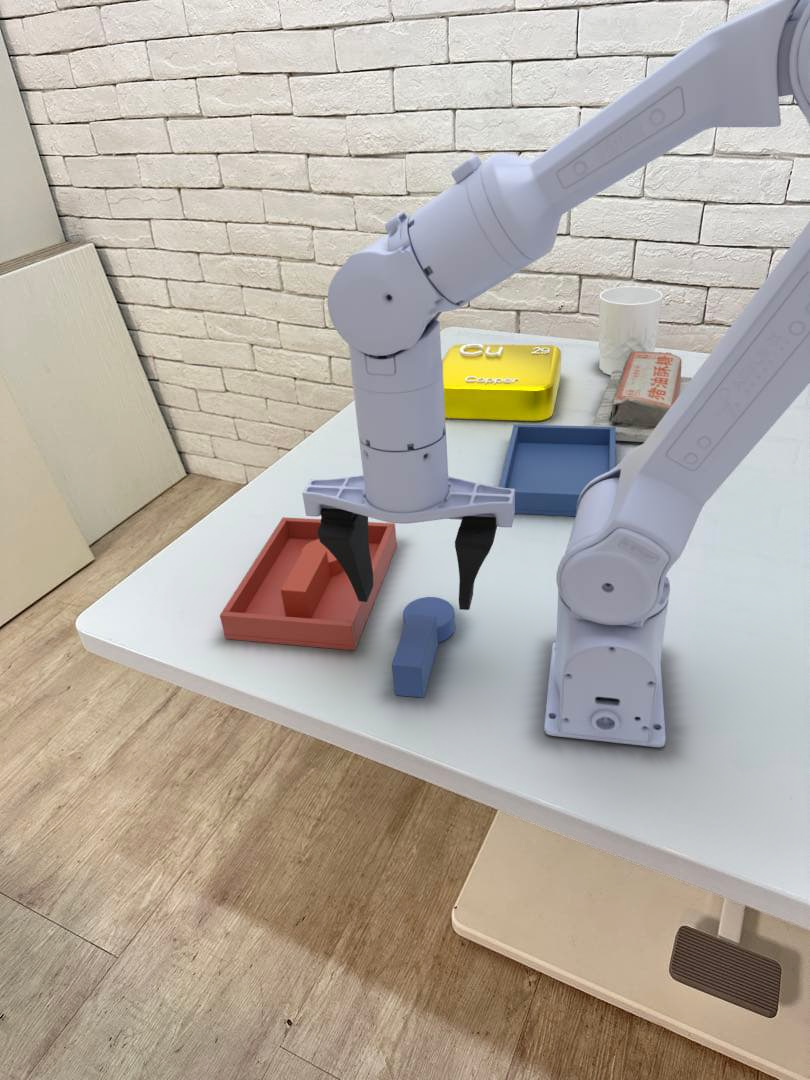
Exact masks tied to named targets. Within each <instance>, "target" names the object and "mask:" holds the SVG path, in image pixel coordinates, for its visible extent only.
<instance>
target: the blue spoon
mask: <svg viewBox="0 0 810 1080" xmlns="http://www.w3.org/2000/svg"><path fill="white" fill-rule="evenodd" d="M402 621H403V630H402V633H401V636H400V639H399V642H398V644H397V645H398V646H397V648H396V651H395V654H394V656H393V660H392V663H391V672H392V680H393V681H392V682H393V689H394V695H395V696H401V697H412V698H422V699H424V698H425V694H426V691H427V687H428V683H429V680H430V676H431V672H432V670H433V669H432V668H433V665H434V662H435V658H436V655H437V651H438V647H439V643H442V642H444V641H446V640H448V639H450V637H452V635H453V634H454V632H455V630H456V615H455V608H454V606H453V605H452V603H450V602H449V601H448V600H446V599H443V598H440V597H437V596H436V597H435V596H426V597H425V596H424V597H420V598H416V599H414V600H412V601H411V602H409V603H408V604H406V606H405V607H404V608H403V611H402Z"/></svg>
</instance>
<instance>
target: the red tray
mask: <svg viewBox="0 0 810 1080" xmlns="http://www.w3.org/2000/svg"><path fill="white" fill-rule="evenodd" d="M320 524H321V518H302V517H284V516H283V517H282V518H281V519H280V521H279V522H278V524H277V526H276V527H275V529H273V532H272V533H271V535H270V537H269V538H267V541H266V542H265V544H264V546H263V547H262V549H261V550H260V552H259V553H258V555H257V556H256V558H255V559H254V561H253V562H252V564H251V566H250V567H249V569H248V571H247V572H246V574H245V575H244V576H243V579H242V580H241V582H240V583H239V584H238V586H237V587H236V589H235V590H234V592H233V593H232V596H231V597H230V598H229V600H228V602H227V603H226V605H225V606H224V608H223V609H222V611H221V612H220V614H219V618H220V622H221V627H222V630H223V634H224V638H225V640H227V639H228V640H235V641H245V642H246V641H247V642H256V643H267V644H268V643H269V644H277V645H278V644H279V645H290V646H300V647H302V646H303V647H311V648H322V649H334V650H342V651H343V650H344V651H356V649H357V646H358V643H359V641H360V638H361V636H362V633H363V631H364V628H365V626H366V624H367V621H368V618H369V616H370V614H371V611H372V608H373V606H374V604H375V601H376V598H377V596H378V594H379V591H380V588H381V586H382V585H383V584H382V583H383V581H384V579H385V576H386V573H387V571H388V569H389V566H390V564H391V561H392V559H393V556H394V554H395V551H396V549H397V546H398V542H397V532H396V523H389V522H377V521H376V522H375V521H368V537H369V550H370V556H371V562H372V569H373V588H372V591H371V593H370V596H369V598H368V600H367V602H361V601H358V598H357V596H356V593H355V591H354V589H353V586H352V584H351V582H350V580H349V578H348V576H347V574H346V573H345V571H343V572H341V573H339V574H337V575H335V576H331V579H330V581H329V583H328V585H327V587H326V589H325V591H324V593H323V595H322V597H321V599H320V601H319V603H318V605H317V607H316V609H315V611H314V613H313V615H312V617H311V619H309V618H297V617H286V615H285V610H284V605H283V600H282V595H281V588H282V586H283V585H284V583H285V581H286V579H287V578H288V576H289V574H290V572H291V571H292V569H293V567H294V565H295V564H296V562H297V560H298V558H299V556H300V555H301V551H302V549H303V547H304V546H305V545H306V544H308V543H310V542H311V541H314V540H317V539H319V537H318V533H317V530H318V528H319V526H320Z"/></svg>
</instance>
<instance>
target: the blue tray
mask: <svg viewBox="0 0 810 1080" xmlns="http://www.w3.org/2000/svg"><path fill="white" fill-rule="evenodd" d="M616 441H617V440H616V427H598V426H591V425H557V424H555V425H554V424H521V423H520V424H518V423H517V424H515V423H514V424H513V425H512V431H511V434H510V438H509V442H508V447H507V451H506V456H505V459H504V462H503V463H504V464H503V467H502V472H501V475H500V476H501V477H500V480H499V483H498V487H500V488H510V489H515V514H519V515H520V514H521V515H523V514H524V515H537V516H538V515H540V516H561V517H576V514H577V509H576V507H577V503H578V499H579V496H580V494H581V492H582V490H583V489H584V488H585V486H586V485H587V484H588V483H589V482H590V481H592V480H593V479H595V478H596V477H598V476H600V475H602V474H604V473H606V472H609V471H610V470H612V469H613V468H615V467H616Z"/></svg>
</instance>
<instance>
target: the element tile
mask: <svg viewBox="0 0 810 1080" xmlns="http://www.w3.org/2000/svg"><path fill="white" fill-rule="evenodd" d="M442 363H443V383H444V404H445V419H450V420H451V419H453V420H454V419H455V420H485V421H487V420H488V421H517V422H540V421H541V422H542V421H545V420H549V418H551V417H552V416H553V414H554V410H555V405H556V400H557V396H558V390H559V387H560V381H561V369H562V368H561V367H562V350H561V348H559V347H558V346H557V345H553V344H552V345H551V344H480V343H467V344H465V343H464V344H463V343H462V344H461V343H459V344H455V345H452V346H451V347H450V348H449V349H448V350H447V351H446V354H445V355H444V357H443V358H442Z"/></svg>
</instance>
